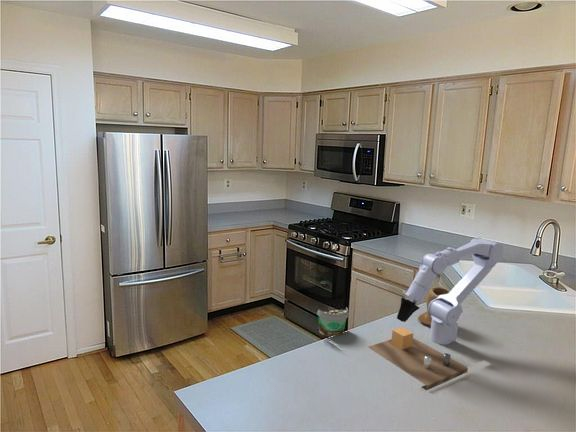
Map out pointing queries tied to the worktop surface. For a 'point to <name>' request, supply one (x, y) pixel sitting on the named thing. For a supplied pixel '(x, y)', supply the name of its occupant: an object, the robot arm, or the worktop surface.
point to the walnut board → (420, 362)
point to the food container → (332, 322)
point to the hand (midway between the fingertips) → (400, 320)
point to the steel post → (427, 362)
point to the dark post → (446, 359)
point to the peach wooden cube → (402, 338)
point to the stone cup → (432, 295)
